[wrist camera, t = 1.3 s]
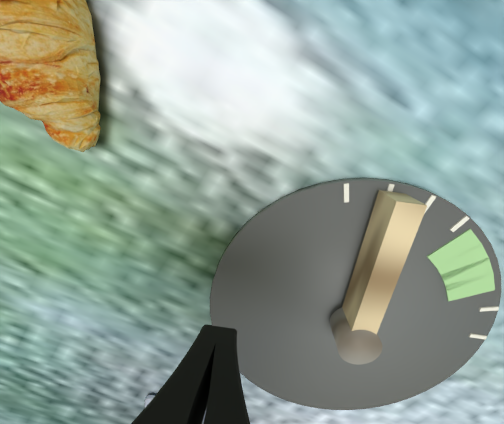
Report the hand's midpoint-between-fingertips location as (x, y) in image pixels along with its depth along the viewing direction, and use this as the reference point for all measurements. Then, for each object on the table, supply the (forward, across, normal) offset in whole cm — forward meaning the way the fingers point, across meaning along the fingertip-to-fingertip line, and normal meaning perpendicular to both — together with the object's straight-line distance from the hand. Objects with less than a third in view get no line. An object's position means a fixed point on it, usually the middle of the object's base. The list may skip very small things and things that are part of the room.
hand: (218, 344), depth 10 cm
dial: (+8, -9, +4) cm, 13 cm away
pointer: (+7, -9, 0) cm, 11 cm away
